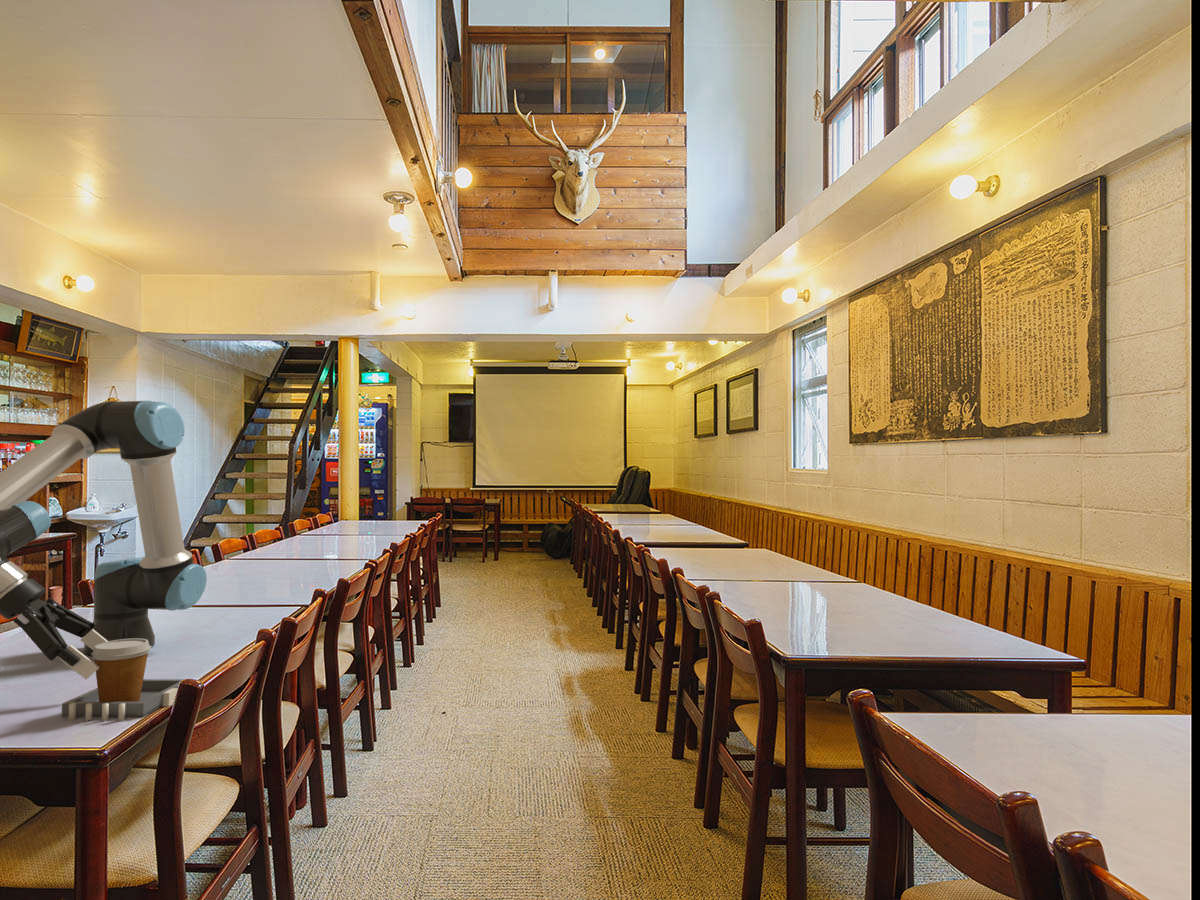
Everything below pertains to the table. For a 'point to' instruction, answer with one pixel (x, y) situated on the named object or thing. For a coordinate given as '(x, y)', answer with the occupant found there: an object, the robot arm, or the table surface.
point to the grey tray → (150, 700)
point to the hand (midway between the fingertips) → (103, 664)
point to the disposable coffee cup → (120, 669)
